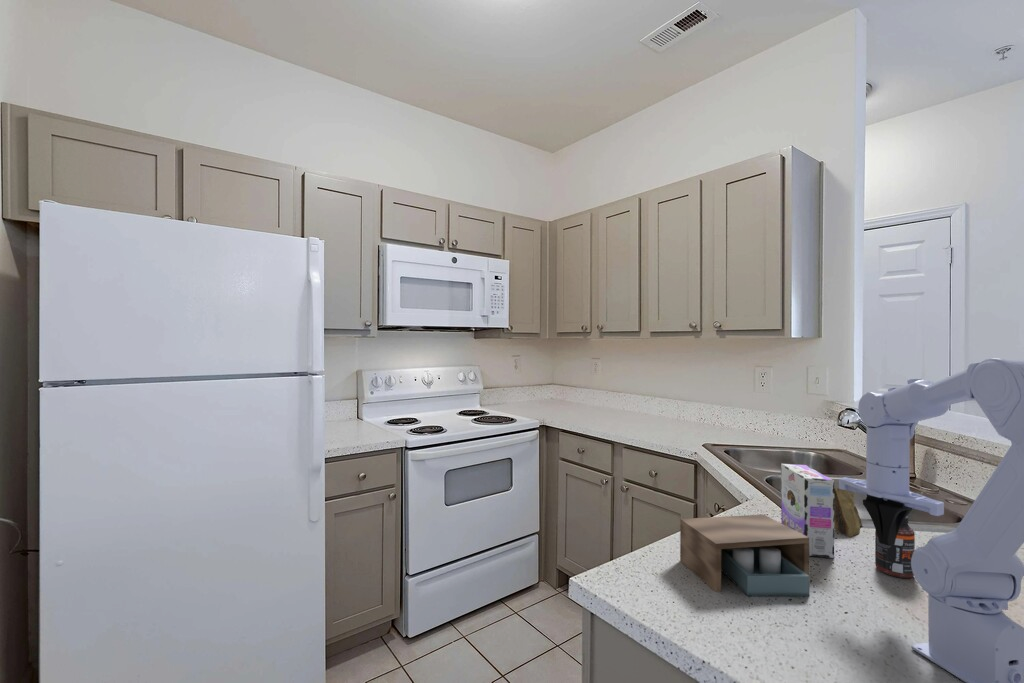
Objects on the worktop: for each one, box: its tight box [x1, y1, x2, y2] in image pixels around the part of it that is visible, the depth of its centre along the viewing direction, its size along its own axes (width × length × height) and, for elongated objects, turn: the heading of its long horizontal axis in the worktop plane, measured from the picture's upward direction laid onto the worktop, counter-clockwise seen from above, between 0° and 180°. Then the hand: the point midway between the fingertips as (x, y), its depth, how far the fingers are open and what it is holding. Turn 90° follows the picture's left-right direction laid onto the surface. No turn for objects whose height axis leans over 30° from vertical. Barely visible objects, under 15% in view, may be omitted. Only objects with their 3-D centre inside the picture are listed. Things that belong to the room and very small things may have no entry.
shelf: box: [679, 513, 810, 593], centre depth 89 cm, size 12×19×8 cm, turn 100°
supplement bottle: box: [874, 516, 916, 579], centre depth 89 cm, size 6×6×11 cm
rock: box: [834, 487, 863, 538], centre depth 111 cm, size 11×9×10 cm
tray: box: [721, 546, 810, 597], centre depth 86 cm, size 12×11×5 cm
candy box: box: [780, 463, 835, 559], centre depth 102 cm, size 14×6×16 cm, turn 168°
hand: (886, 543), depth 78 cm, fingers closed
